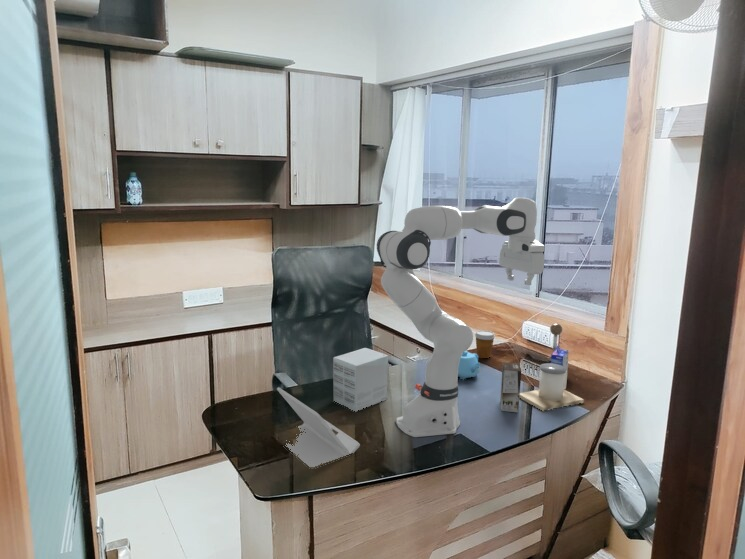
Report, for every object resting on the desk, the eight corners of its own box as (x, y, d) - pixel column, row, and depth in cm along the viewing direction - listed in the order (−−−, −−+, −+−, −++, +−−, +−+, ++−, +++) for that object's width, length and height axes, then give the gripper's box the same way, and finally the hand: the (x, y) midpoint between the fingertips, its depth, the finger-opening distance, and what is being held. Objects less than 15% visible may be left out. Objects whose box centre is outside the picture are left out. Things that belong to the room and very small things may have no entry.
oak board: (542, 411, 191) (542, 407, 191) (517, 397, 204) (518, 393, 204) (583, 403, 199) (583, 399, 199) (557, 389, 212) (557, 386, 212)
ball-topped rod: (554, 351, 195) (556, 325, 193) (545, 348, 199) (548, 322, 197) (563, 350, 197) (565, 324, 195) (554, 347, 201) (557, 321, 199)
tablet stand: (311, 470, 151) (310, 416, 147) (271, 437, 170) (270, 388, 167) (361, 451, 162) (361, 400, 158) (318, 422, 181) (317, 376, 178)
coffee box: (518, 412, 190) (521, 371, 187) (500, 411, 191) (503, 369, 188) (517, 402, 199) (520, 362, 196) (499, 401, 200) (502, 361, 197)
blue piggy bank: (442, 379, 221) (443, 353, 219) (449, 368, 234) (450, 344, 232) (478, 384, 216) (480, 358, 214) (483, 373, 229) (484, 348, 227)
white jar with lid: (549, 403, 195) (552, 373, 193) (532, 393, 204) (534, 365, 202) (572, 398, 200) (575, 369, 197) (554, 389, 208) (557, 361, 206)
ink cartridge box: (554, 374, 229) (556, 342, 226) (567, 376, 226) (570, 345, 223) (548, 381, 221) (551, 348, 218) (562, 384, 218) (564, 351, 215)
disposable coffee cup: (473, 359, 247) (475, 335, 245) (473, 352, 256) (474, 329, 254) (494, 360, 245) (495, 336, 243) (493, 354, 255) (494, 330, 252)
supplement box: (364, 389, 209) (365, 346, 206) (388, 399, 200) (389, 355, 196) (332, 401, 197) (331, 356, 194) (355, 413, 188) (356, 365, 184)
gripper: (496, 241, 190) (493, 278, 193) (534, 247, 172) (530, 288, 175) (509, 240, 193) (507, 277, 196) (548, 247, 175) (545, 287, 177)
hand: (518, 282), depth 185 cm, fingers open, 8 cm apart
